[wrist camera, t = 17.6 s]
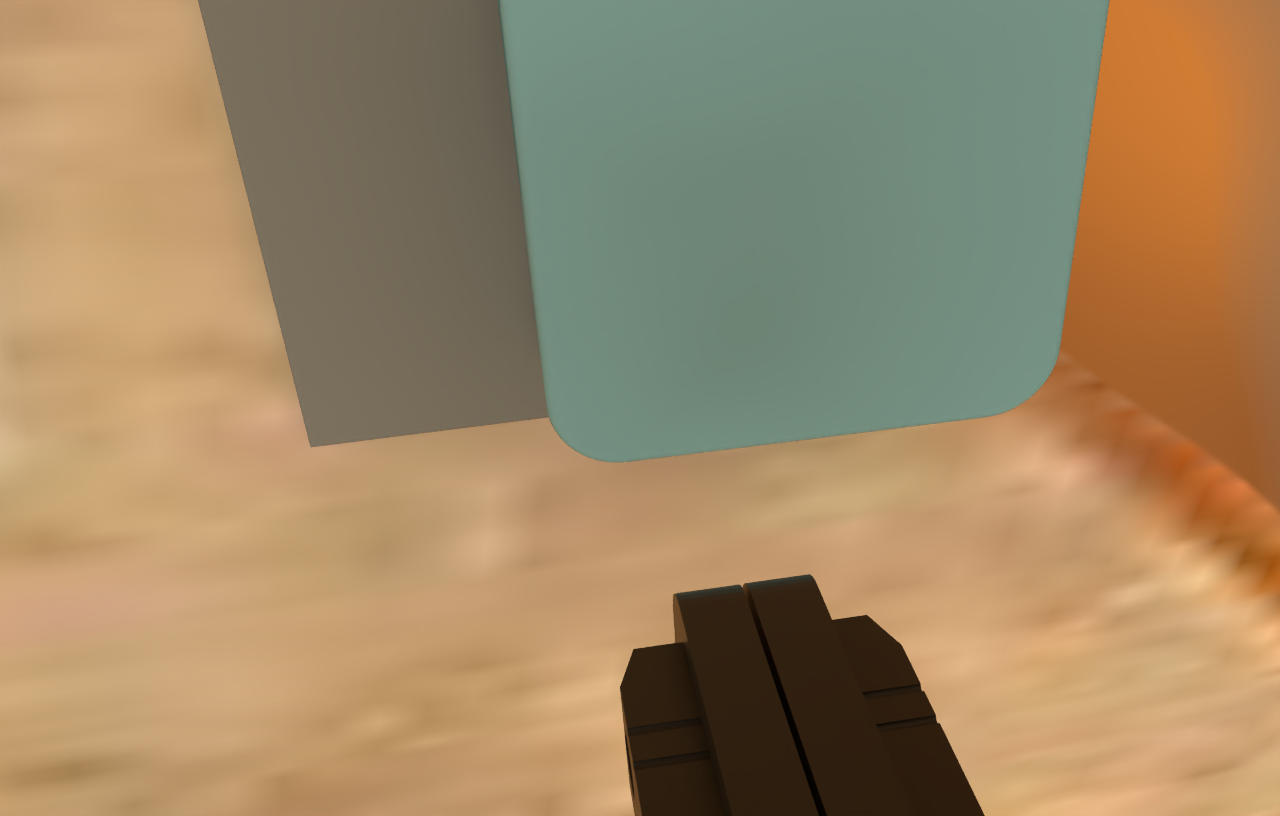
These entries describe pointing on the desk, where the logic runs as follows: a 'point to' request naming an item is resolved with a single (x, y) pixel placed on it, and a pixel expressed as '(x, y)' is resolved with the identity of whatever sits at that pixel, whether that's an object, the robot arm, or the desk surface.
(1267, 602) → the desk surface
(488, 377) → the mat
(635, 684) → the robot arm
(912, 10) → the data package
